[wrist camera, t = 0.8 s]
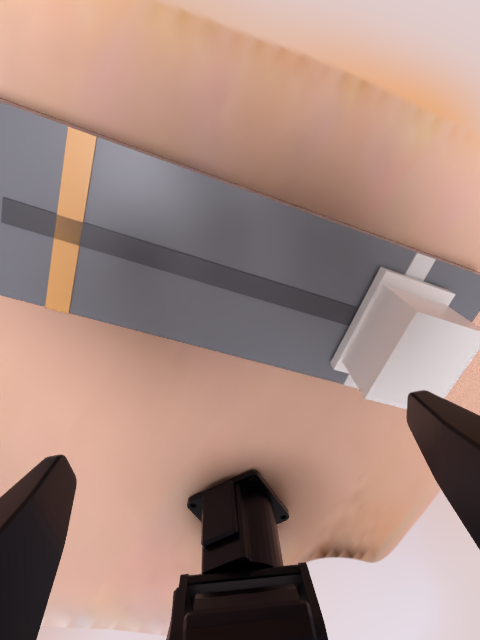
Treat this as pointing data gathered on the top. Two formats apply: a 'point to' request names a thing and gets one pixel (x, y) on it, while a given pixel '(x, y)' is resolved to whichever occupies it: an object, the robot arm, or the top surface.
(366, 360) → the fader knob
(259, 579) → the robot arm
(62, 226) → the fader track
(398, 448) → the top surface
